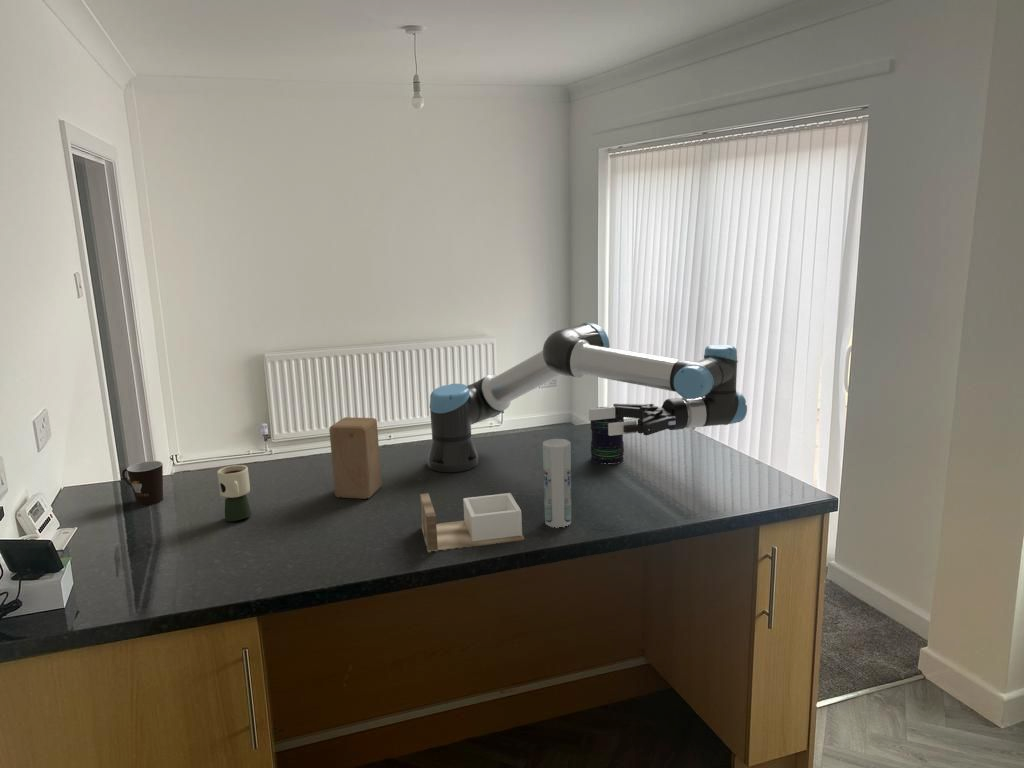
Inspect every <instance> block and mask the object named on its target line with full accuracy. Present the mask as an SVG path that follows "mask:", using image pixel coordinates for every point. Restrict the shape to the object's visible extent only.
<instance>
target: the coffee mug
mask: <svg viewBox="0 0 1024 768" xmlns="http://www.w3.org/2000/svg"><path fill="white" fill-rule="evenodd" d="M163 467H164V465H163V462H162V461H160V460H149V461H148V460H147V461H140V462H137V463H134V464H131V465H129V466H128V467H127V468H125V469H123V470H122V471H121V472H122V473H121V475H122V479H123V480H124V482H126V484H127V485H128V486H130V487H131V488H132V491H133V495H134V498H135V501H136V502H135V503H136V505H137V504H138V506H139V505H149V506H153V505H152V504H154V505H157V504H159V503H161V502H163V500H164V476H163V475H164V474H163V473H164V472H163ZM126 472H127V474H128V475H127V476H128V478H129V480H128V479H127V477H126V475H125V474H126ZM160 501H161V502H160ZM158 502H159V503H158ZM156 503H157V504H156Z"/></svg>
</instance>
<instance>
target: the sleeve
mask: <svg viewBox="0 0 1024 768" xmlns="http://www.w3.org/2000/svg"><path fill="white" fill-rule="evenodd" d="M462 500H463V519H464V520H463V521H464V522H465V524H466V527H467V529H468V532H469V534H470V537H471V539H472V541H473V542H474V541H482V540H490V539H497V538H505V537H513V536H521V535H523V524H522V523H523V520H522V518H523V517H522V516H523V515H522V510H521V508H520V506H519V504H518V503H517V502H516V500H515V497H514V496H513V495H512V493H511V492H507V493H498V494H490V495H480V496H472V497H471V496H470V497H465V498H463V499H462Z"/></svg>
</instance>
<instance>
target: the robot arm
mask: <svg viewBox="0 0 1024 768" xmlns="http://www.w3.org/2000/svg"><path fill="white" fill-rule="evenodd" d="M737 351H738V350H737V348H736V347H735V346H734V345H730V344H710V345H707V346H706V347H705V348H704V354H703V359H701V360H699V361H691V360H690V361H689V360H684V359H683V360H682V359H679V358H672V357H667V356H666V357H665V356H660V355H655V354H648V353H641V352H635V351H628V350H624V349H623V350H622V349H617V348H611V346H610V340H609V336H608V334H607V332H606V331H605V329H603V328H602V327H601V326H600V325H598V324H596V323H593V322H583V323H581V324H577V325H574V326H571V327H567V328H563V329H559V330H556V331H554V332H552V333H551V334H550V335H549V336H548V337H547V338H546V340H545V341H544V344H543V347H542V350H541V351H539V352H538V353H536V354H534V355H532V356H529V358H527V359H525V360H524V361H521V362H520V363H518V364H516V365H514V366H513V367H511V368H509V369H507V370H505V371H504V372H502V373H500V374H498V375H496V374H488V375H486V376H484V377H482V378H481V379H479V380H477V381H475V382H473V383H471V384H468V385H466V384H464V383H450V384H445V385H441V386H439V387H437V388H435V389H433V390H432V392H431V393H430V395H429V411H430V424H431V425H430V426H431V444H430V448H429V452H428V456H427V467H428V469H430V470H431V471H435V472H439V473H460V472H465V471H469V470H471V469H474V468H475V467H477V466H478V465H479V455H478V452H477V449H476V446H475V444H474V441H473V439H472V425H474V424H476V423H478V422H479V423H480V422H482V421H485V420H488V419H491V418H495V417H497V416H499V415H500V414H502V413H503V412H504V411H506V410H507V409H508V408H510V405H511V403H512V401H514V400H516V399H518V398H519V397H521V396H524V395H526V394H527V393H529V392H531V391H533V390H535V389H537V388H538V387H540V386H543V385H545V384H547V383H548V382H551V381H552V380H554V379H556V378H558V377H560V376H565V377H573V378H578V379H579V378H582V377H584V376H590V377H595V378H601V379H607V380H610V381H617V382H621V383H628V384H632V385H638V386H642V387H643V386H644V387H648V388H654V389H659V390H664V391H670V392H675V393H677V394H678V395H679V396H680V397H681V398H680V397H676V398H673V397H672V398H667V399H665V400H664V401H663V403H662V406H661V407H659V406H658V405H655V404H653V403H646V404H645V403H641V404H640V403H637V404H636V403H613V406H604V407H605V408H599V407H595V409H594V408H589V409H588V420H589V421H590V422H591V420H600V419H610V418H614V419H616V418H617V417H624V418H629V419H637V420H628V421H624V422H617V423H608V435H609V436H612V435H622V434H623V435H630V434H643V436H649V435H652V434H657V433H659V432H662V431H665V430H669V431H679V430H684V429H691V430H693V431H694V430H696V428H701V427H702V428H704V427H711V426H712V427H714V426H727V425H733V424H737V423H741V422H743V421H744V419H745V418H746V416H747V412H748V405H747V401H746V398H745V396H744V395H743V393H740V392H737V377H738V376H737V373H738V362H739V361H738V352H737ZM618 409H619V411H618Z"/></svg>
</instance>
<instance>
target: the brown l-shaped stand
mask: <svg viewBox="0 0 1024 768" xmlns="http://www.w3.org/2000/svg"><path fill="white" fill-rule="evenodd" d="M419 497H420V512H421V514H420V515H421V526H420V527H421V530H422V534H423V539H424V543H425V546H427V547H426V550H427V553H432V552H431V551H435V552H439V551H438V550H443V551H448V550H447V549H450V550H456V549H455V548H458V549H463V547H466V548H472V546H473V547H479V546H488V545H495V544H496V543H497V544H503V543H510V542H519V541H524V540H525V537H524V535H523V534H522V535H521V536H513V537H505V538H497V539H490V540H482V541H474V542H473V541H472V539H471V537H470V534H469V532H468V529H467V527H466V524H465V522H464V520H456V521H449V522H441V523H437V515H436V511H435V509H434V505H433V502H432V500H431V496H430V493H429V492H426V493H420V494H419Z"/></svg>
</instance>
